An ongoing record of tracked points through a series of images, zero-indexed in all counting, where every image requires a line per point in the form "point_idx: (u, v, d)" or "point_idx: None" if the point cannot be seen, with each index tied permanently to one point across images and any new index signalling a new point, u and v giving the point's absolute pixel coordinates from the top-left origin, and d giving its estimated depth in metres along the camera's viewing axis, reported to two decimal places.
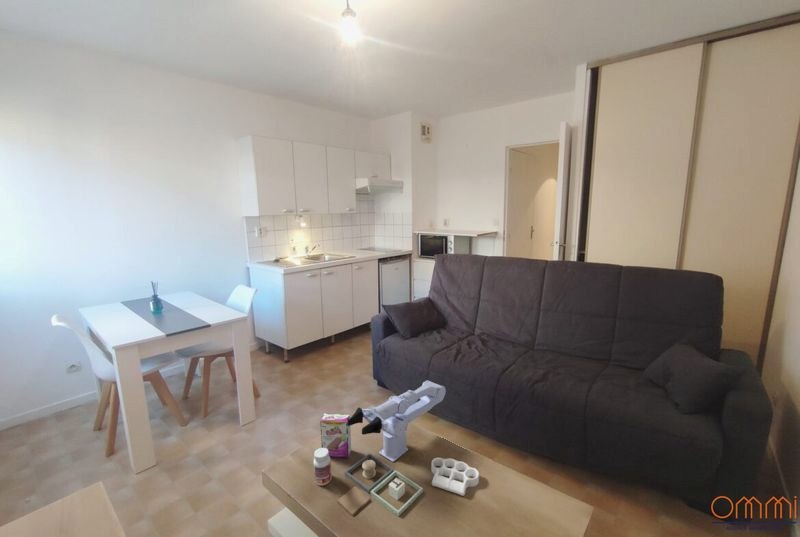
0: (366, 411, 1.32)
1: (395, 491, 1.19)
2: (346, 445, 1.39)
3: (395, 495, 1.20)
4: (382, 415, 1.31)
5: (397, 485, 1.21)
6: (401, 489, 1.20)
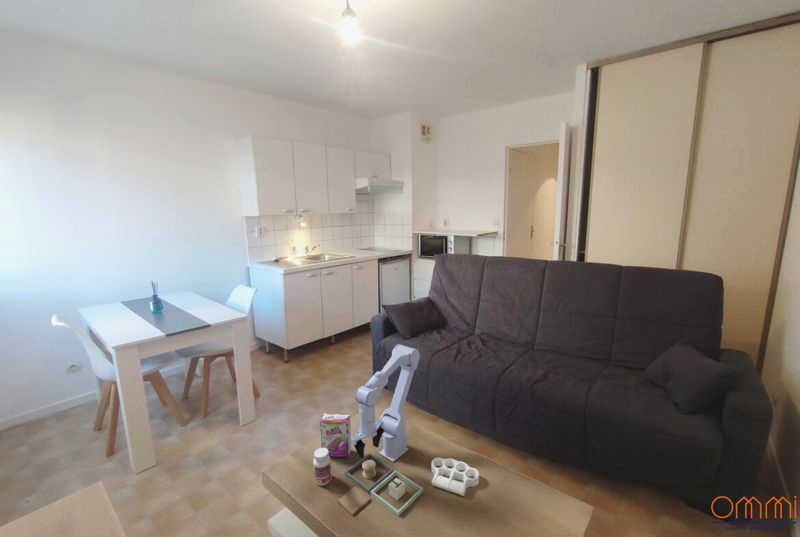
0: None
1: (395, 491, 1.19)
2: (346, 445, 1.39)
3: (395, 495, 1.20)
4: None
5: (397, 485, 1.21)
6: (401, 489, 1.20)
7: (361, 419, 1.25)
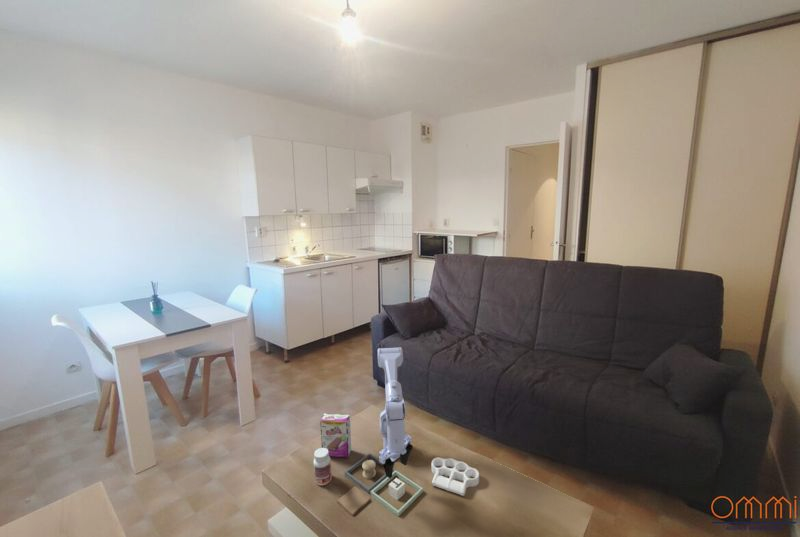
0: None
1: (395, 491, 1.19)
2: (346, 445, 1.39)
3: (395, 495, 1.20)
4: None
5: (397, 485, 1.21)
6: (401, 489, 1.20)
7: (395, 437, 1.15)
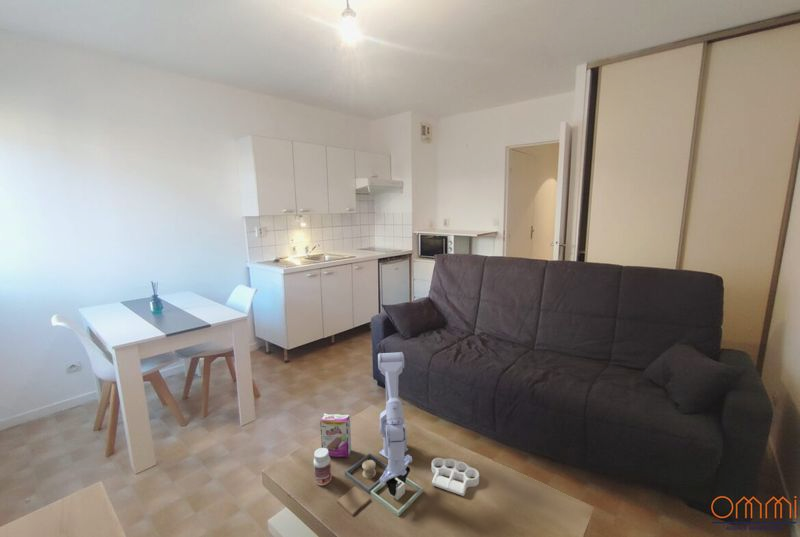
0: None
1: None
2: (346, 445, 1.39)
3: (395, 495, 1.20)
4: None
5: (397, 485, 1.21)
6: (401, 489, 1.20)
7: (396, 458, 1.16)
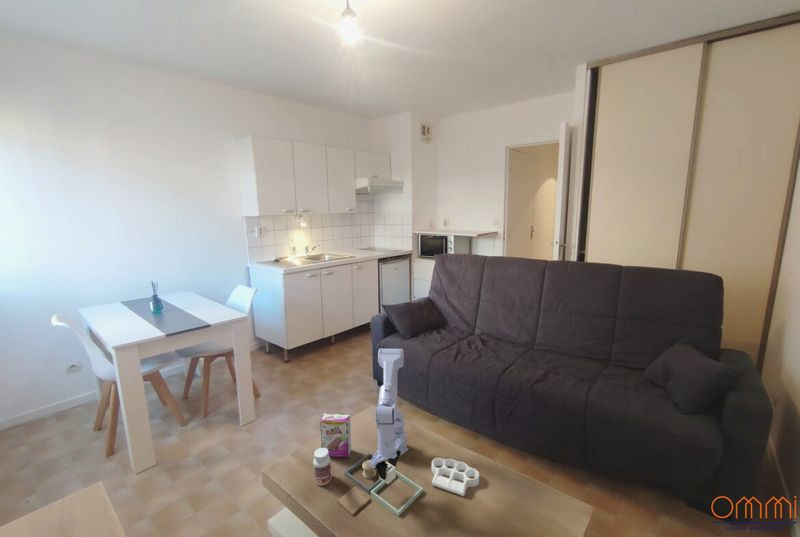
0: None
1: None
2: (346, 445, 1.39)
3: (385, 479, 1.18)
4: None
5: (388, 469, 1.19)
6: (391, 473, 1.18)
7: (384, 441, 1.15)
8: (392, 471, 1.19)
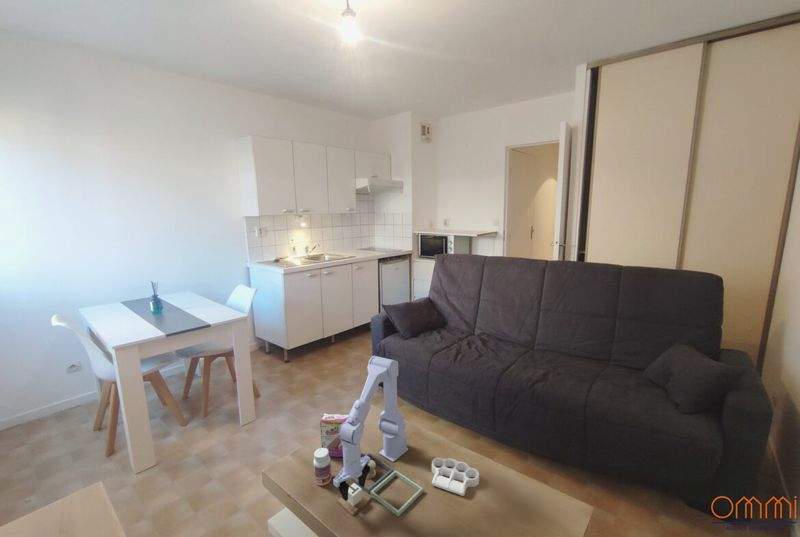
0: None
1: (351, 497, 1.16)
2: None
3: (351, 501, 1.17)
4: None
5: (353, 490, 1.18)
6: (357, 495, 1.17)
7: (346, 458, 1.14)
8: (358, 493, 1.17)
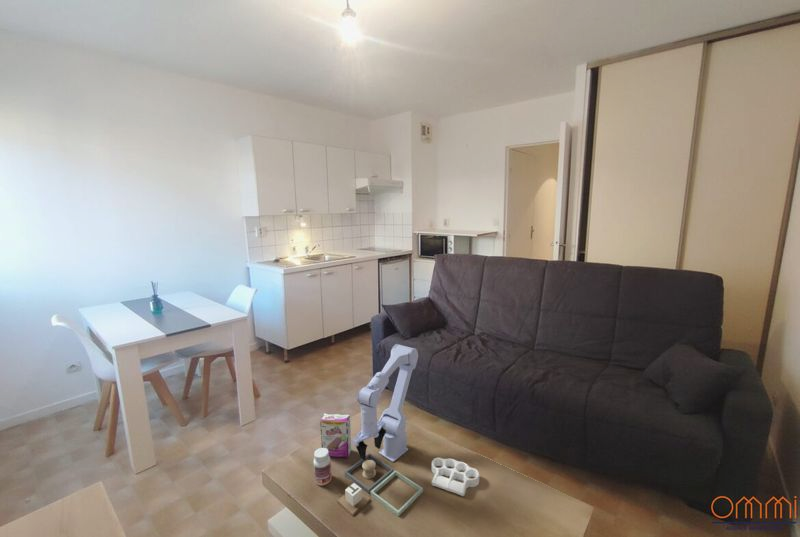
0: None
1: (351, 497, 1.16)
2: (346, 445, 1.39)
3: (351, 501, 1.17)
4: None
5: (353, 490, 1.18)
6: (357, 495, 1.17)
7: (363, 420, 1.24)
8: (358, 493, 1.17)
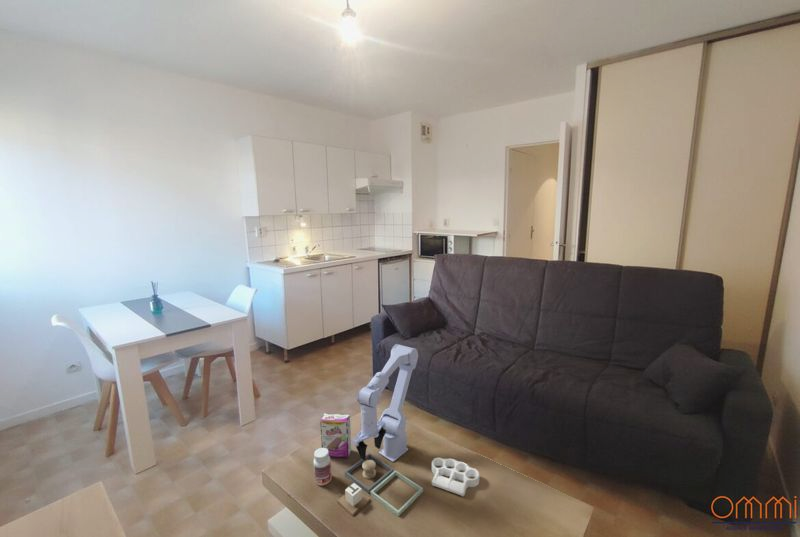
0: None
1: (351, 497, 1.16)
2: (346, 445, 1.39)
3: (351, 501, 1.17)
4: None
5: (353, 490, 1.18)
6: (357, 495, 1.17)
7: (363, 420, 1.24)
8: (358, 493, 1.17)
